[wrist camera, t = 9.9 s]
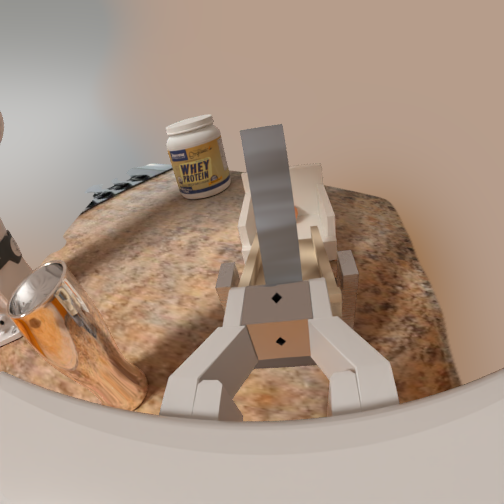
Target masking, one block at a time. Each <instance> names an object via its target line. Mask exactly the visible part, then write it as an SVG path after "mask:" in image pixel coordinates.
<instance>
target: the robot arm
mask: <svg viewBox="0 0 504 504" xmlns="http://www.w3.org/2000/svg"><path fill="white" fill-rule="evenodd" d="M3 131H4V122H3V117H2V114H1V112H0V143H1V140H2V136H3ZM32 271H33V270H32V269H31V268H30V267H29V265H28V264H27V263H26V262H25V260H24V259H23V257H22V254H21V252H20V250H19V247H18V245H17V243H16V242H15V240H14V239H13V237H12V236H11V234H10V232H9V231H8V230H6V229H5V227H4V225H3V223H2V221H1V219H0V346H3V345H5V344H7V343H9V342H11V341H13V340H16V339H18V338H20V337H22V336H23V335H22V334H21V332H20V331H19V330H18V328H17V327H16V325H15V324H14V322H13V321H12V320H11V318H10V317H9V316H8V315H7V310H6V309H7V303H8V301H9V298H10V296H11V294H12V293H13V291H14V290H15V288H16V287H17V286H18V284H19V283H20V282H21V281H22V280H23V279H24V278H25V277H26V276H27V275H28V274H30V273H31V272H32ZM301 356H311V358H312V359H313V360H314V361H315V363H316V364H317V365H318V366H319V368H320V369H321V370H322V371H323V373H324V374H325V375H326V376H327V378H328V379H329V380H330V382H329V396H328V408H327V415H328V417H322V418H312V419H301V420H285V421H243V415H242V413H241V412H240V410H239V409H238V407H237V406H236V404H235V403H234V401H233V400H232V399H233V397H234V396H235V394H236V393H237V392H238V390H239V389H240V387H241V386H242V384H243V383H244V382H245V380H246V379H247V377H248V376H249V374H250V373H251V371H252V370H253V369H254V367H255V366H256V364H257V363H258V360H264V359H275V358H286V357H301ZM0 504H504V368H502V369H501V370H498V371H496V372H494V373H491V374H489V375H487V376H484V377H482V378H479V379H477V380H474V381H472V382H469V383H467V384H464V385H461V386H458V387H456V388H453V389H450V390H447V391H444V392H441V393H438V394H434V395H431V396H428V397H424V398H421V399H417V400H413V401H410V402H406V403H402V404H399V399H398V394H397V390H396V385H395V381H394V377H393V373H392V369H391V365H390V362H389V361H388V360H387V359H386V358H384V357H383V356H382V355H381V354H380V353H379V352H378V351H377V350H375V349H374V348H373V347H372V346H371V345H370V344H369V343H368V342H366V341H365V340H364V339H363V338H362V337H361V336H360V335H359V334H357V333H356V332H355V331H354V330H353V329H352V328H351V327H349V326H348V325H347V324H346V323H345V322H344V321H343V320H342V319H340V318H339V317H338V316H333V315H332V310H331V304H330V299H329V294H328V289H327V284H326V279H325V278H324V277H322V278H315V279H309V281H308V280H302V281H294V282H286V283H277V284H267V285H255V286H246V287H233V288H231V289H230V290H229V293H228V299H227V304H226V310H225V316H224V321H223V327H218V328H217V329H216V330H215V331H214V332H213V333H212V334H211V335H210V336H209V337H208V338H207V339H206V340H205V341H204V342H203V343H202V344H201V345H200V346H199V347H198V348H197V349H196V350H195V351H194V352H193V353H192V354H191V355H190V356H189V357H188V358H187V359H186V361H185V362H184V363H183V364H182V365H181V366H180V367H179V368H178V369H177V370H176V371H175V372H174V373H173V374H172V375H171V376H170V377H169V379H168V382H167V386H166V390H165V394H164V398H163V402H162V405H161V409H160V413H159V415H154V414H147V413H141V412H135V411H130V410H124V409H119V408H115V407H110V406H106V405H101V404H97V403H93V402H89V401H85V400H82V399H78V398H75V397H71V396H68V395H65V394H61V393H58V392H55V391H52V390H49V389H46V388H43V387H41V386H38V385H35V384H33V383H30V382H27V381H25V380H22V379H20V378H17V377H15V376H13V375H11V374H8V373H6V372H0Z"/></svg>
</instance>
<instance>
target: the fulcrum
mask: <svg viewBox="0 0 504 504" xmlns="http://www.w3.org/2000/svg"><path fill="white" fill-rule="evenodd" d="M358 278H359V273H358V270H357V267H356V263H355V260H354V257H353V254H352V252H351V250H346V251H337V287H340V290H341V293H342V320H343V321H344V322H345V323H346V324H347V325H348V326H349V327H351V328H352V329H353V326H354V318H355V309H356V300H357V290H358ZM239 282H240V278H239V275H238V271H237V268H236V264H235V262H233V263H223V264H221V267H220V271H219V275H218V279H217V283H216V291H217V294H218V296H219V299H220V301H221V304H222V307H223V309H224V312H225V310H226V304H227V299H228V293H229V290H230V289H231V288H233V287H238V285H239Z"/></svg>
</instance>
